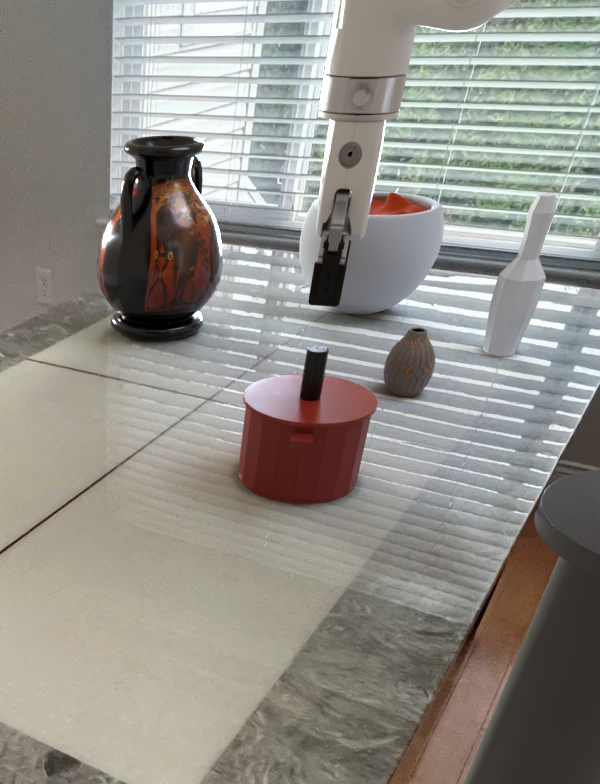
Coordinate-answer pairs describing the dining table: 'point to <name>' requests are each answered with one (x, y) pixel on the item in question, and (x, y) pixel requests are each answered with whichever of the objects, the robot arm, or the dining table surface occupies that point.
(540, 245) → the low poly bottle
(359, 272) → the pot
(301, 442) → the enamel pot
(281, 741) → the dining table surface
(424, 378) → the vase
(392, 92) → the robot arm
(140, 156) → the amphora vase
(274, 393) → the lid
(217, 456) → the dining table surface
